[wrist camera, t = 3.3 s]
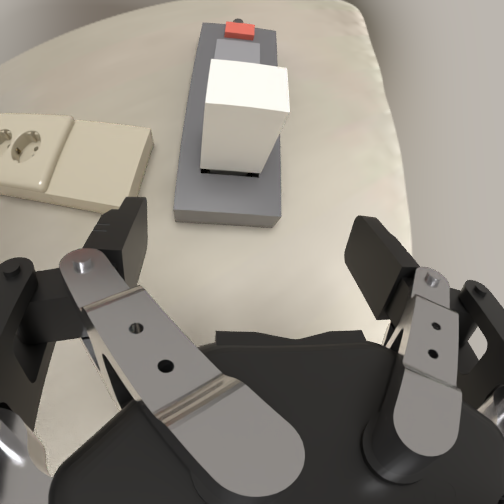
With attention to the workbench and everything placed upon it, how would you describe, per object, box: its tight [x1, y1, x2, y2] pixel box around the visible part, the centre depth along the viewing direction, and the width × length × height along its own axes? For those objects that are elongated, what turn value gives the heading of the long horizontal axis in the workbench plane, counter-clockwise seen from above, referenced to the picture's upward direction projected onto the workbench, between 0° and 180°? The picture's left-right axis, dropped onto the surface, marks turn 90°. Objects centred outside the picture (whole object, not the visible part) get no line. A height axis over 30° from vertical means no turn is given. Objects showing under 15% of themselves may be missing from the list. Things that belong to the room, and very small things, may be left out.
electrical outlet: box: [0, 113, 154, 214], centre depth 23 cm, size 7×4×18 cm
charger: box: [200, 59, 290, 177], centre depth 22 cm, size 5×4×12 cm
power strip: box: [173, 19, 281, 228], centre depth 27 cm, size 8×26×4 cm, turn 179°
